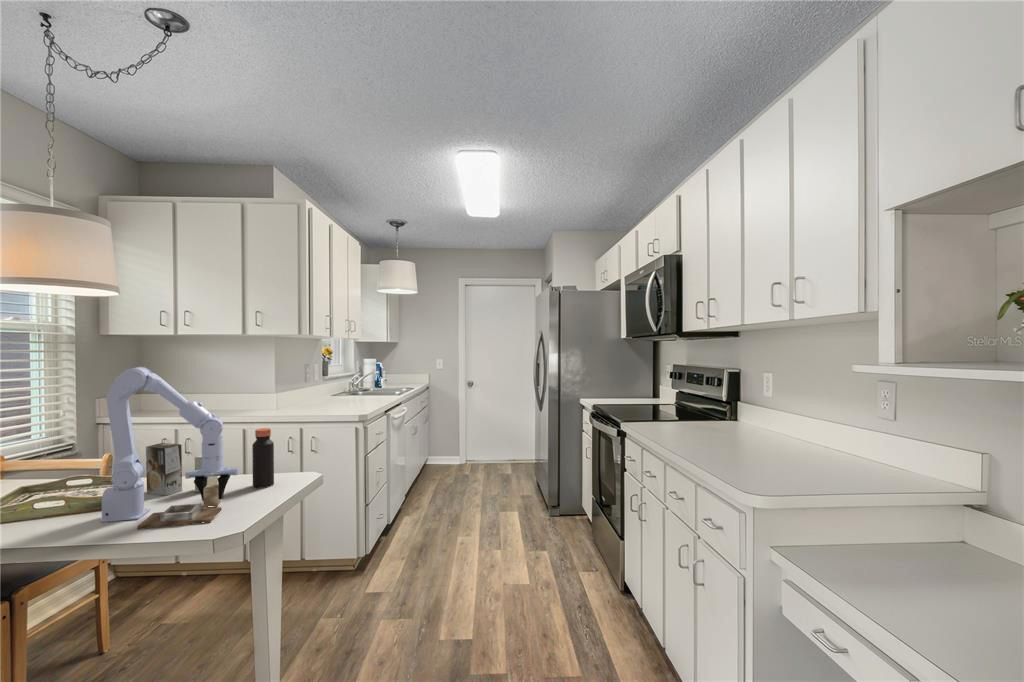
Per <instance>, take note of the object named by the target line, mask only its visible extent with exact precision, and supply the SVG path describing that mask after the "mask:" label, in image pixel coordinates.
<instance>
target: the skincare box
mask: <svg viewBox="0 0 1024 682" xmlns="http://www.w3.org/2000/svg"><path fill="white" fill-rule="evenodd" d="M201 469H202V454H199V455H197V456H194V470H201ZM218 478H219V476H210V477H208V478H207V485H214V484H218ZM194 492H195V493H200V491H199V489H198V487H197V486H196V484H195V483H194Z"/></svg>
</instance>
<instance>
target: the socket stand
mask: <svg viewBox="0 0 1024 682" xmlns="http://www.w3.org/2000/svg"><path fill="white" fill-rule="evenodd" d="M220 511H222V507H219V506H218V507H209V508H203V503H202V502H201V503H190V504H189V503H186V504H179V505H178V504H177V505H175V504H174V505H171V506H169V507H168V508H167V509H165V511H162V512H161V511H160V512H159V511H158V512H153V513H151V514H150V515H149V516H148V517H146V519H143V520H142V521H141V522H140V523H139V524H138V526H137V529H138V530H141V528H144V529H153V528H152V527H156V528H163V527H162V526H167V527H173V526H172V525H178V526H185V525H184V524H189V525H193V524H192V523H200V524H203V523H202V522H211V521H212V520H213V519H214V520H215V518H216V517H217V516H218V515H219V514H220V513H221V512H220ZM219 512H220V513H219ZM218 513H219V514H218ZM217 514H218V515H217ZM216 515H217V516H216ZM215 516H216V517H215ZM214 517H215V518H214ZM214 520H213V521H214ZM213 521H212V522H213ZM212 522H211V523H212Z"/></svg>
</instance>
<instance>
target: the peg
mask: <svg viewBox="0 0 1024 682" xmlns="http://www.w3.org/2000/svg"><path fill="white" fill-rule="evenodd" d="M203 494H204V501H203V508H204V507H208V506H218V505H219V504H220V503H221V502H222V503H223V498H222V499H219V485H218V484H214V485H207V486H206V487H205V488H204V489H203ZM222 503H221V504H222ZM221 504H220V505H221ZM220 505H219V506H220ZM219 506H218V507H219Z"/></svg>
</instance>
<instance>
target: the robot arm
mask: <svg viewBox="0 0 1024 682" xmlns="http://www.w3.org/2000/svg"><path fill="white" fill-rule="evenodd" d="M143 388H144V389H143ZM141 389H143V391H144V392H151V393H156V394H158V395H159V396H160V397H162V398H163V399H165V400H166V401H167V402H169V403H171V404H172V405H173V406H175V408H177V409H179V413H178V414H179V416H181V417H182V418H183V419H184V420H185V421H186V422H188V423H189V424H191V425H192V426H193V427H194V428H196V429H199V432H200V434H201V436H202V437H201V438H202V441H201V455H202V469H201V470H195V469H193V470H186V472H185V473H184V474H185V477H184V478H185V479H187V480H188V479H190V478H191V479H194V480H193V483H194V485H195V484H196V486H197V487H198V489H199V491H200V492H199V493H200V497H201V500H202V502H204V494H203V489H204V488H205V487H206V486H207V478H208V477H210V476H218V485H219V499H222V500H223V498H224V494H225V489H226V486H227V484H228V483H229V482H228V481H229V480H230V477H231V476H238V475H239V473H240V468H239V467H224V446H223V445H224V443H223V442H224V440H223V433H222V431H223V429H224V423H223V420H222V419H221V418H220V417H219V416H216V414H215V413H214V412H212V413H211V412H210V411H208V410H207V409H206V408H205V407H203V405H204V404H203V403H202V402H201V401H200V402H197V401H196V400H187V398H185V397H184V396H183V395H182V394H181V393H179V392H178V391H177V390H176V389H175V388H174V387H173V386H171V385H170V384H169V383H168V382H167V381H166V380H164V379H163V378H162V377H160V376H159V375H158V374H156V373H155V372H152V371H151V370H150V369H148V368H147V367H145V366H136V367H133V368H128V369H125V370H124V371H123V372H121V373H120V374H119V375H118V376H116V377H115V380H114V382H113V384H112V386H111V388H110V389H109V391H108V393H107V394H106V397H105V398H106V399H105V400H106V401H105V402H106V407H107V413H108V419H109V426H110V432H111V439H112V445H113V451H114V461H113V465H112V467H113V473H112V474H111V477H110V479H111V480H110V481H111V484H112V487H108V488H106V489H105V490H104V491H103V493H102V497H101V520H100V523H108V522H117V521H129V520H130V521H131V520H138V519H140V518H141V517H143V516H144V515H146V514H147V513H148V512H149V511H151V509H150V508H145V482H144V481H143V480H142V477H143V475H144V474H145V471H146V469H145V468H146V467H145V465H144V464H143V463H142V461H141V459H140V456H139V454H138V452H137V448H136V443H135V433H134V428H133V422H132V414H131V409H130V403H129V400H130V399H131V398H132V397H133V396H134V395H135V394H136V393H137V392H138V391H139V390H141Z"/></svg>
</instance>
